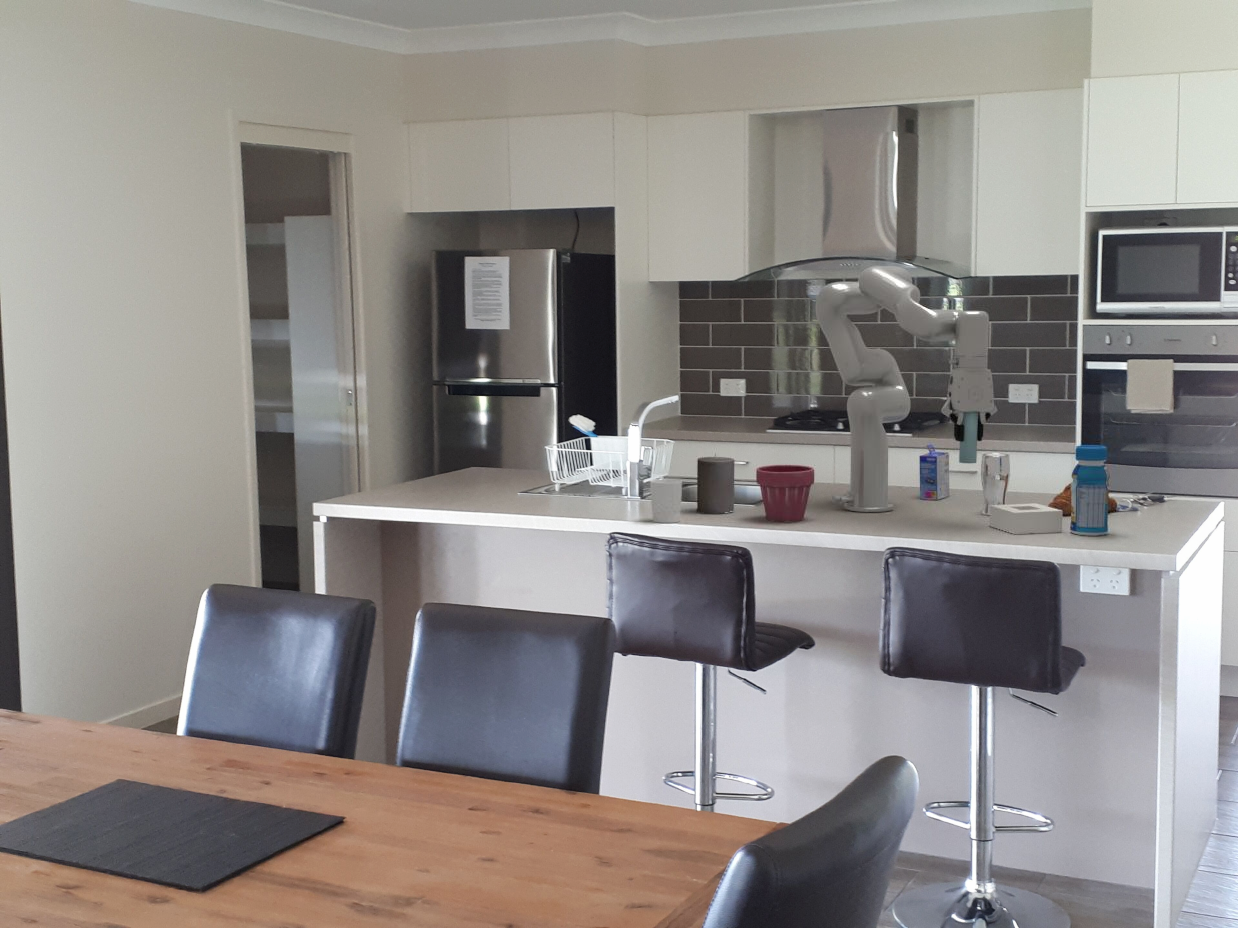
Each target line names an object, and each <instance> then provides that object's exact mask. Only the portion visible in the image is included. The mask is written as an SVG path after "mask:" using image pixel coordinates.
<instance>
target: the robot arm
mask: <svg viewBox="0 0 1238 928" xmlns="http://www.w3.org/2000/svg"><path fill="white" fill-rule="evenodd" d="M920 301H921V291H920V289H919V287H918V286H916V285H914V284H913V279H912V275H911V274H910V272H909V271H907V270H906V269H905V268H904V267H901V266H898V265H897V266H896V265H873V266H870V267H867V268H866V269H864V270H863V271H861V273H860V274H859V276H858V279H857V281H836V282H831V283H827V284H826V285H824V287H822V288H821V289H820V291H819V292H818V294H817V296H816V301H815V316H816V319H817V323H818V325H819V327H820V329H821V331H822V333H823V335H824V337H825V338H826V339H825V340H826V341H827V342H828V346H829V347H830V348H829V349H830V351H831V354H832V356H833V360H834V362H835V365H836V368H837V370H838V373H839V375H840V377H841V379H842V381H843V383H845V384H846V385H848V386H853V387H860V386H861V387H860V388H858V389H855V390H854V391H852V392H851V394H849V396H848V398H847V402H846V410H847V418H848V422H849V432H850V490H846V493H844V494H833V495H831V500H832V503H844V505H843V509H845V510H847V511H852V512H858V513H860V512H861V513H880V512H881V513H882V512H883V513H884V512H890V511H893V510H894V507H895V506H894V504H893V503H890V502H888V501H889V500H888V497H889V495H888V493H889V492H888V491H889V489H888V488H889V485H888V484H889V438H888V435H887V432H886V429H885V428H884V425H883V424H887V423H888V424H889V423H897V422H901V421H903V420H904V419H906V418H907V416H908V415H909V413H910V410H911V398H910V394H909V391H908V389H907V386H906V383H905V381H904V378H903V375H902V373H901V371H900V368H899V366H898V364H897V363H898V362H897V361H896V359H895V357H894V356H893V355H892V354H891V353H890V352H889V351H887V350H885V349H884V348H883V349H882V348H868V347H867V346H866V344H865V342H864V340H863V337H862V335H861V333H860V331H859V329H858V327H857V326H856V325H855V323H853V322H852V321H851V320H850V319H849V318H848V315H870V314H874V313H876V312H879V311H881V310H883V309H885V310H887V311H888V312H890V313H891V314H894V318H895V320H896V322H897V324H898V325H899V326H900V328H901V329H902V330H904V331H906V332H907V333H909V334H910V335H912V336H914V337H915V338H918V339H920V340H922V341H925V342H954V355H953V358H949V361H948V362H949V364H950V365H953V368H954V369H951V372H950V375H949V381H948V388H947V397H946V402H944V404H943V407H942V408H941V410H940V412H941V413H942V414H943V415H945V416H946V417H947V418H948V419H949V420H951V422H952V424H954V427H953V437H954V440H955V441H957V442H959V443H960V442H963V441H964V425H962V420H963V415H964V412H978V430H977V442H982V440H983V437H984V425H985V424H986V423H987V421H988V420H989V419H990V417H991V416H993V415H994V414H996V413H997V412H998V408H997V406H996V404H995V397H994V384H993V383H994V382H993V381H994V380H993V376H992V370H991V369H988V355H989V354H988V353H989V352H988V351H989V329H990V328H989V327H990V325H989V324H990V316H989V314H988V312H987V311H984V310H962V309H929V308H927V307H925V306H923V305H921V304H920ZM862 386H863V387H862ZM952 411H953V412H952Z"/></svg>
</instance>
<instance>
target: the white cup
mask: <svg viewBox="0 0 1238 928" xmlns="http://www.w3.org/2000/svg"><path fill="white" fill-rule="evenodd" d="M649 483H650V484H649V485H650V502H651V511H652V521H653V522H654V523H659V524H673V523H679V522H681V510H682V497H683V495H682V493H683V480H681V479H675V478H670V479H669V478H662V479H661V478H658V479H653V480H650V481H649Z"/></svg>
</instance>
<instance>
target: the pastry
mask: <svg viewBox="0 0 1238 928" xmlns="http://www.w3.org/2000/svg"><path fill="white" fill-rule="evenodd" d="M1071 484H1072V482H1070V483H1069V484H1067V485H1066V486H1065V487H1064V489H1063V491H1061V492H1060V493H1059V494H1057V495H1056V496H1055V497H1054V498H1053V500H1052V501H1051V502H1049V504H1048V505H1047V507H1051V508H1055V509H1058V510H1062V511H1063V515H1062V517H1070V516H1069V515H1071V500H1072V492H1071ZM1117 508H1118V502H1117V501H1116V499H1115V498H1114V497H1110V496H1109V497H1108V513H1113V512H1115V511H1116V510H1117Z"/></svg>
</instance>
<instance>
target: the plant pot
mask: <svg viewBox="0 0 1238 928" xmlns="http://www.w3.org/2000/svg"><path fill="white" fill-rule="evenodd" d="M755 472H756V477H755V479H756V484H757V485H759V488H760V493H761V497H762V504H763V507H764V512H765V517H766V520H768V519H769V520H768V521H770V520H773V521H772V522H776V521H795V522H801V521H802V520H804V518H805V513H806V509H807V505H808V502H809V498H810V497H809V496H810V492H811V486H812V485H813V484H815V468H814V467H812V466H806V465H799V464H773V465H763V466H759V467H757V468H756V471H755ZM800 520H801V521H800Z"/></svg>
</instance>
